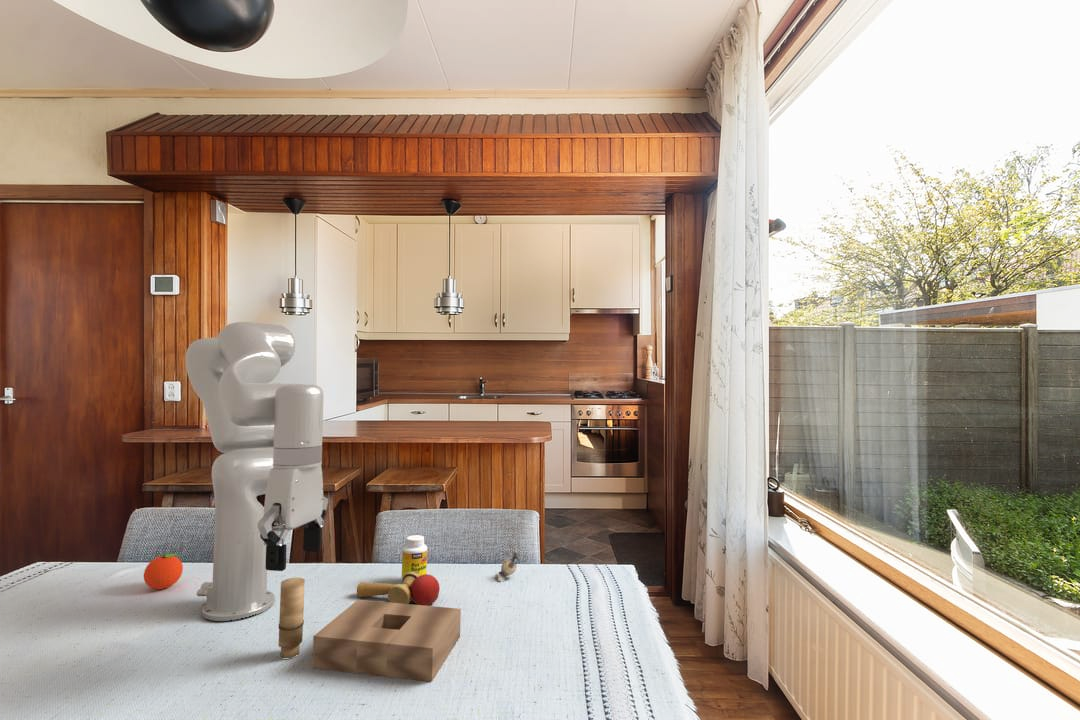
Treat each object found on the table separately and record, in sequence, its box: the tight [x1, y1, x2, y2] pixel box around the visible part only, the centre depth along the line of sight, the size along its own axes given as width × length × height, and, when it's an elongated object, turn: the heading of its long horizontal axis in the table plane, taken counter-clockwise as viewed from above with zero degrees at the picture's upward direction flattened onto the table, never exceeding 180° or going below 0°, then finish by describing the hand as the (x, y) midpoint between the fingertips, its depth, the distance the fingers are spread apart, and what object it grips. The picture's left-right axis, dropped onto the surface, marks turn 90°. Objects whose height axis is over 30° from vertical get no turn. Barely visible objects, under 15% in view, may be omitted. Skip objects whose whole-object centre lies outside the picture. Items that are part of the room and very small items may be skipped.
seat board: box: [311, 599, 462, 682], centre depth 87 cm, size 20×14×5 cm
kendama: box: [356, 572, 440, 606], centre depth 107 cm, size 8×6×18 cm
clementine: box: [143, 553, 185, 590], centre depth 112 cm, size 8×7×7 cm
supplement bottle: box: [400, 534, 428, 582], centre depth 117 cm, size 6×6×10 cm
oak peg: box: [278, 577, 305, 659], centre depth 86 cm, size 4×4×12 cm
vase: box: [497, 551, 523, 582], centre depth 121 cm, size 5×5×6 cm
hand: (294, 559), depth 86 cm, fingers open, 9 cm apart
